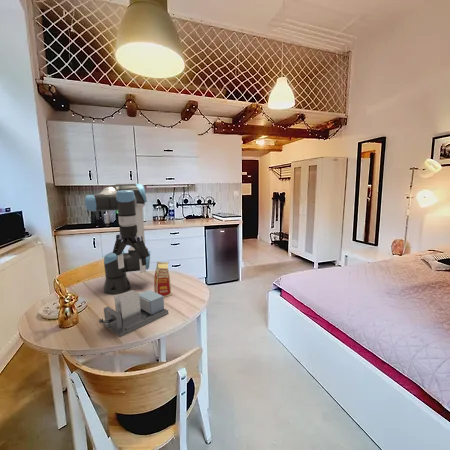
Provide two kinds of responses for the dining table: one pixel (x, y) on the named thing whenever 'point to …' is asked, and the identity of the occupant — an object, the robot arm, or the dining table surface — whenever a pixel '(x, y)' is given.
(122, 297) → the steel block
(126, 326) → the vise body
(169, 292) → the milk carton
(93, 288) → the dining table surface
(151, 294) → the block
